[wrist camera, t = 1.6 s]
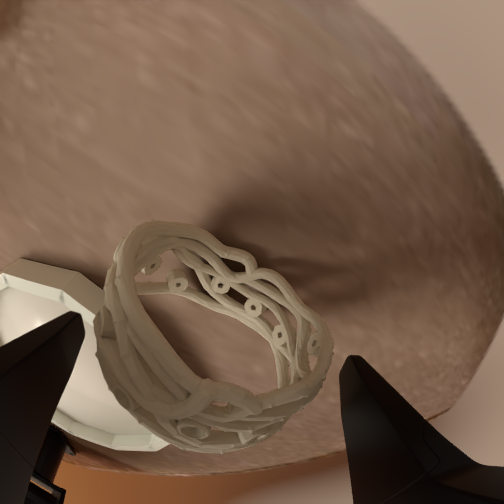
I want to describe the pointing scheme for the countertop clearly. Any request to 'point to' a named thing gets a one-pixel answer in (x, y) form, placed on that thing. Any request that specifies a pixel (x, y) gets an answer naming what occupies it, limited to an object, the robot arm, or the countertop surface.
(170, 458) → the countertop surface
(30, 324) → the ring dish
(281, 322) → the bracelet
